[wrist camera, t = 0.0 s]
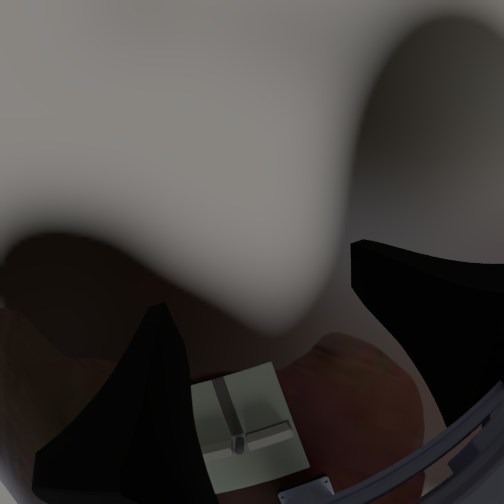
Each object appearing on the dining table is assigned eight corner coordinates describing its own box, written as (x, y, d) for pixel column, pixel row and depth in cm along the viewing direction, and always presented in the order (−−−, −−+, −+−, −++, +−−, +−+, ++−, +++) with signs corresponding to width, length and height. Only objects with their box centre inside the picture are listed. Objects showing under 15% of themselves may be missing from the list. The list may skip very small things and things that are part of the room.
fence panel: (231, 439, 34) (230, 447, 30) (234, 446, 33) (233, 455, 29) (172, 452, 32) (164, 460, 28) (175, 459, 32) (168, 468, 28)
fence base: (288, 429, 35) (294, 437, 30) (237, 445, 34) (236, 455, 29) (285, 422, 35) (291, 429, 30) (234, 438, 34) (233, 447, 29)
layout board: (309, 465, 33) (310, 466, 32) (171, 498, 30) (170, 500, 29) (270, 361, 39) (271, 361, 39) (131, 398, 36) (129, 399, 36)
